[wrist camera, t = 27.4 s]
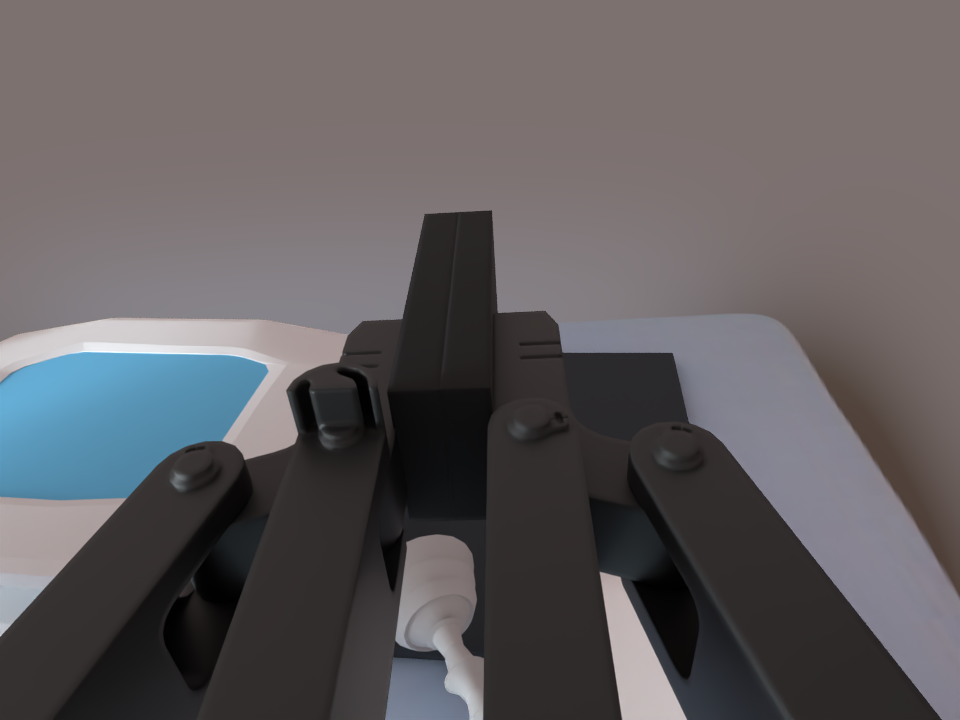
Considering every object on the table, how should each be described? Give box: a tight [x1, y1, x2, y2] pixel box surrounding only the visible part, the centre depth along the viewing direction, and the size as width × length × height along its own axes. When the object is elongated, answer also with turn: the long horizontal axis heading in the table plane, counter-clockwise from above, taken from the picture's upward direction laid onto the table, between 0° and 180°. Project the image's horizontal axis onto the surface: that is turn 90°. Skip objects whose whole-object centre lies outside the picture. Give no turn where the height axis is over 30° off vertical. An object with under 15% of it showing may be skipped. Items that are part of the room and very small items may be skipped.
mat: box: [393, 353, 689, 660], centre depth 40 cm, size 18×24×1 cm
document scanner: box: [0, 318, 348, 636], centre depth 40 cm, size 21×28×6 cm
